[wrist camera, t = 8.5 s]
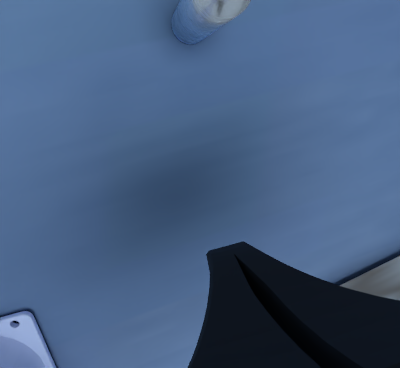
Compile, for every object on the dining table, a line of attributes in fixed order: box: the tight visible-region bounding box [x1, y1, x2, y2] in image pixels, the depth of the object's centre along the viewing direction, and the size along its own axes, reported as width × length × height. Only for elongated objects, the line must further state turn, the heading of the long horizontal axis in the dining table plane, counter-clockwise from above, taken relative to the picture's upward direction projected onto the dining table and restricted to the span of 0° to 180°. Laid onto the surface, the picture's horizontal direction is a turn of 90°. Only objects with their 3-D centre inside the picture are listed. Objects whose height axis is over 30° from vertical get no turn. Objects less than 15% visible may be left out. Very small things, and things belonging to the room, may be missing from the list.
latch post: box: [171, 0, 251, 44], centre depth 14 cm, size 2×2×7 cm
